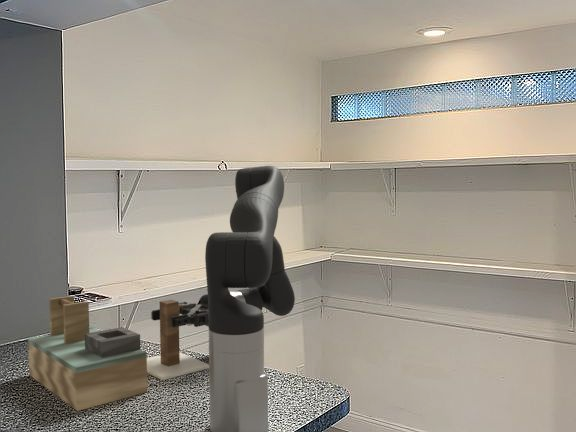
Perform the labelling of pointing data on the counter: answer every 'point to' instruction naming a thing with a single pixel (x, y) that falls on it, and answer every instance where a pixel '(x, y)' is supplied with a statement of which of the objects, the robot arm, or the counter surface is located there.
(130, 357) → the wooden socket fixture
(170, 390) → the counter surface
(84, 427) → the counter surface
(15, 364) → the counter surface
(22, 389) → the counter surface
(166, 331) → the walnut key
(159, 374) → the mat
